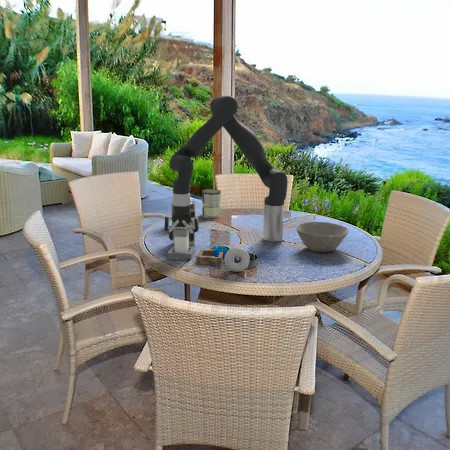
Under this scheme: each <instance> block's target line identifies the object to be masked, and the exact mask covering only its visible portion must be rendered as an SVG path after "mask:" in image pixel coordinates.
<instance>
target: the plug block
mask: <svg viewBox="0 0 450 450" xmlns="http://www.w3.org/2000/svg"><path fill="white" fill-rule="evenodd" d="M174 246H175V252H181V253H189V230H188V229H187V227H185V228H183V227H176V229H175V245H174Z"/></svg>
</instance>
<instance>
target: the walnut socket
mask: <svg viewBox="0 0 450 450" xmlns="http://www.w3.org/2000/svg"><path fill="white" fill-rule="evenodd" d="M213 250H214V249H206V248H205V249H204V248H200V249H199V251H198V253H197V256H196V264H197V263H199V265H212V266H215V265H217V266H221V265H222V263H223V260H224V258H223V252H219V255H218V257H215V256H213V252H214V251H213Z"/></svg>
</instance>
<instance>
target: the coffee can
mask: <svg viewBox="0 0 450 450" xmlns="http://www.w3.org/2000/svg"><path fill="white" fill-rule="evenodd" d="M221 193H222V190H220V189H217V188H207V189H202V195H201V196H202V202H201V203H202V205H201V206H202V214H201V216H202V217H203V218H209V219H211V218H212V219H213V218H214V219H215V218H220V217H221Z"/></svg>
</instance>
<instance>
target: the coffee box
mask: <svg viewBox="0 0 450 450" xmlns="http://www.w3.org/2000/svg"><path fill="white" fill-rule="evenodd" d="M191 218H196V210H195V211H194V210H193V209H191ZM173 224H174V223H173ZM190 224H191V225H192V227H193V229H195V223H193V221H192V220H191V222H190ZM176 227H177V226H175V228H174V229H173V230H172V231H173V240H172V243H173V246H175V229H176ZM190 233H191V232H190V231H189V246H191V247H195V246H194V245H195V243H196V241H195V239H196V238H195V237H196V234H195V233H196V232H195V233H194V240H193V241H192V242H190Z"/></svg>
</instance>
